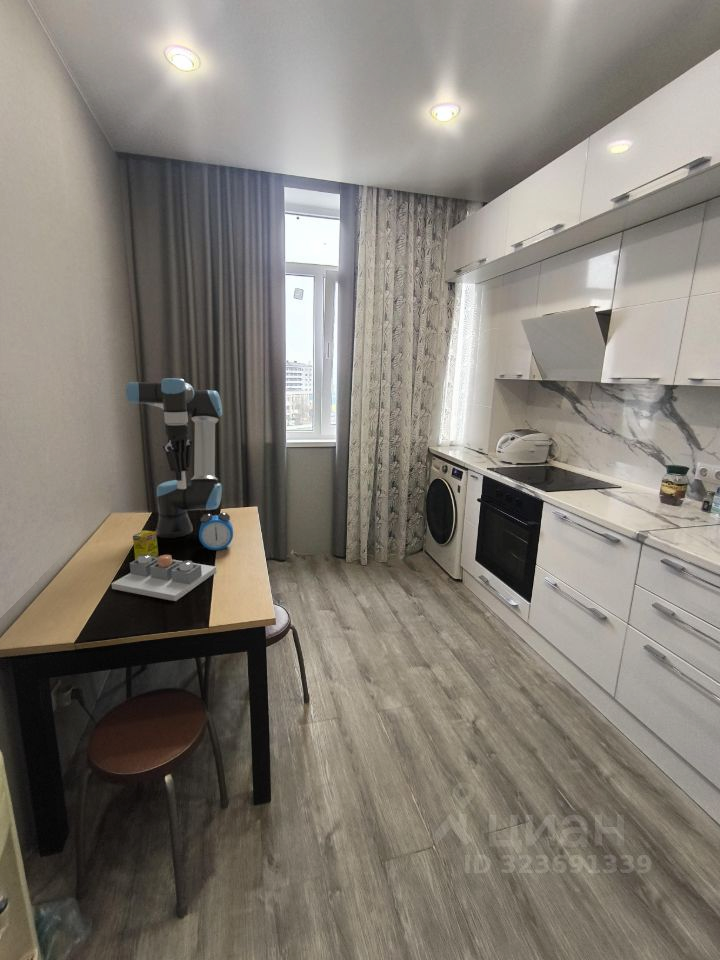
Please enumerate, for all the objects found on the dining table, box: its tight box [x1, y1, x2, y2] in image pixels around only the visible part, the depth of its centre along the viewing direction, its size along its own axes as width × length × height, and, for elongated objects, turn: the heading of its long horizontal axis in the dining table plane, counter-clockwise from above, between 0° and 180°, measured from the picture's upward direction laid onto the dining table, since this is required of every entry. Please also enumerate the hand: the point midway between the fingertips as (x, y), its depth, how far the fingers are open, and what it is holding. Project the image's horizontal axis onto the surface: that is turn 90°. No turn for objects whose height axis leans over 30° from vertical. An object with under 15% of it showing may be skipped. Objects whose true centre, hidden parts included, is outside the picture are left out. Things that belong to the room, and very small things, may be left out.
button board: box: [111, 557, 217, 602], centre depth 151 cm, size 22×25×6 cm
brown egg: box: [158, 554, 173, 568], centre depth 150 cm, size 4×4×5 cm
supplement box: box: [132, 529, 159, 561], centre depth 165 cm, size 6×6×11 cm
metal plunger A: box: [137, 554, 152, 565], centre depth 153 cm, size 4×4×5 cm
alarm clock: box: [198, 512, 234, 551], centre depth 178 cm, size 13×6×15 cm, turn 107°
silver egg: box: [179, 560, 194, 572], centre depth 148 cm, size 4×4×5 cm
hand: (182, 488), depth 158 cm, fingers closed
